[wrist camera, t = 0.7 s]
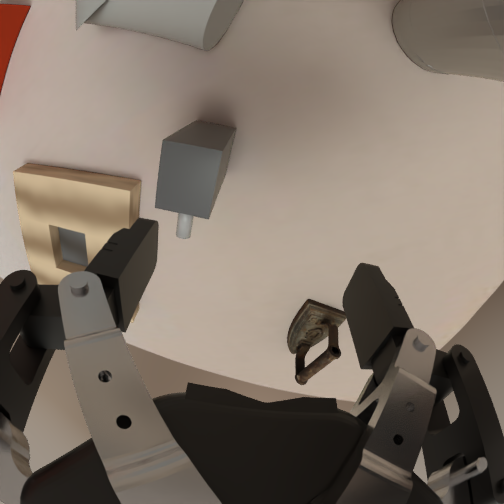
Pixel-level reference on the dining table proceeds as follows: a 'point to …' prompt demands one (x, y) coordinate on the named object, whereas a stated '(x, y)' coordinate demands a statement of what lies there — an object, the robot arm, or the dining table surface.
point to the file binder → (9, 32)
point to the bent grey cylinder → (164, 18)
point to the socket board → (70, 216)
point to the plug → (193, 171)
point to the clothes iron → (314, 337)
